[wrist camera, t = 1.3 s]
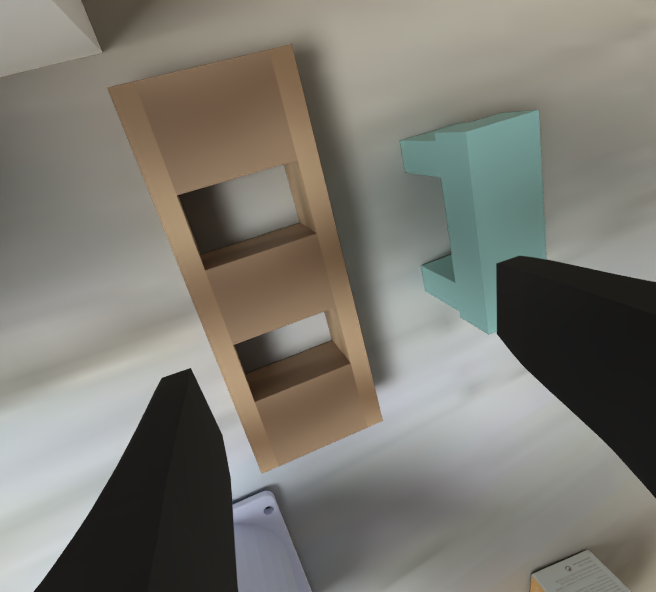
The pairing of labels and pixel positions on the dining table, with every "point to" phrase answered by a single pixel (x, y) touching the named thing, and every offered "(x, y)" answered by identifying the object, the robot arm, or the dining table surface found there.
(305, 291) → the rail
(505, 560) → the dining table surface
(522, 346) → the robot arm
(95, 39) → the milk
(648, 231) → the dining table surface
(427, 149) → the teal block
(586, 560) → the small box
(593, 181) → the dining table surface
